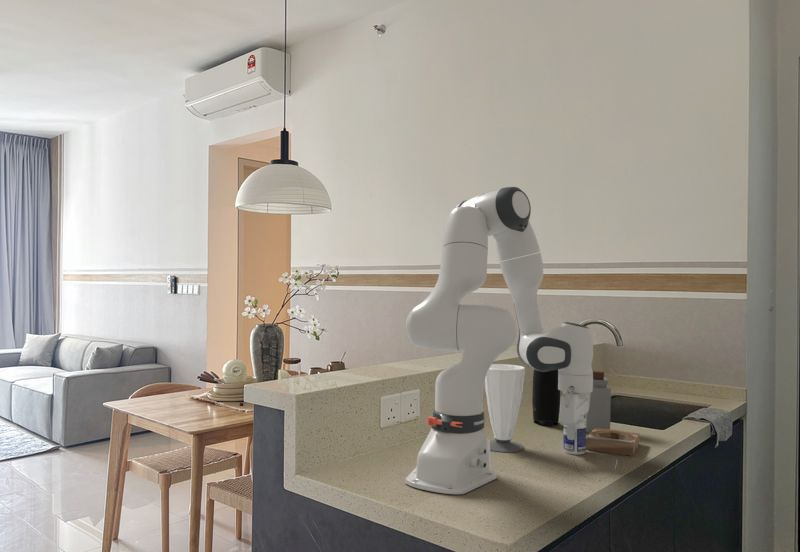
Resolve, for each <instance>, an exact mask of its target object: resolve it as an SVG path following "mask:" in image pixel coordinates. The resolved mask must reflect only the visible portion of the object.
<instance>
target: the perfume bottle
mask: <svg viewBox="0 0 800 552" xmlns="http://www.w3.org/2000/svg"><path fill="white" fill-rule="evenodd" d="M592 371H593V391H592V392H591V395H590V405H589V410H588V413H587V414H586V415H585V416H584V424H585V425H586V434H588V433H589V434H590V433H591V432H592V430H593V429H594V428H600V429H608V430H611V404H612V403H611V400H612V399H611V398H612V395H611V394H612V389H611V387H610V385H608V383H609V380H608V378H607V377H605V371H604V370H593V369H592Z"/></svg>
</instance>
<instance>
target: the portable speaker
mask: <svg viewBox="0 0 800 552" xmlns="http://www.w3.org/2000/svg"><path fill="white" fill-rule="evenodd" d="M532 374H533V376H532V392H531V393H532V394H531V395H532V399H531V401H532V404H531V405H532V417H533V418H532V419H533V423H538V424H539V425H540V426H545V427H546V426H547V427H551V426H553V425H554V424H557V425H559V422H560V420H559V417H560V401H561V391H560V390H558V370H552V371H546V372H543V371H538V370H535V369H534V368H533V373H532Z"/></svg>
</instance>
